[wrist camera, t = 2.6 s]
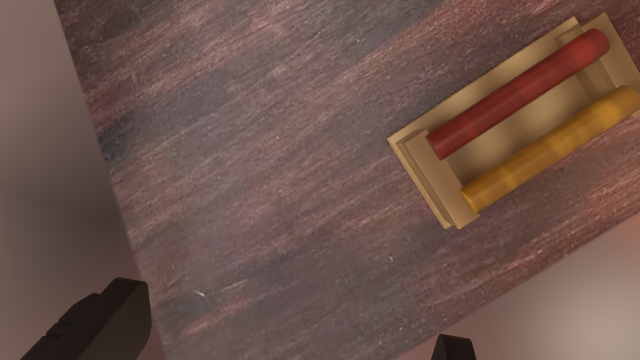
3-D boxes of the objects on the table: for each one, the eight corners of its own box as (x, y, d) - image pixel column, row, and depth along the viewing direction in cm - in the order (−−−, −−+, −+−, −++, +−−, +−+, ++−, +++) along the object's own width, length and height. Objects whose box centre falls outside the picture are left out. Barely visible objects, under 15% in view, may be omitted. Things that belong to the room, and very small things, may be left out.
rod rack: (442, 227, 33) (465, 242, 28) (385, 138, 32) (398, 137, 27) (622, 112, 32) (678, 107, 27) (567, 18, 31) (615, -5, 26)
